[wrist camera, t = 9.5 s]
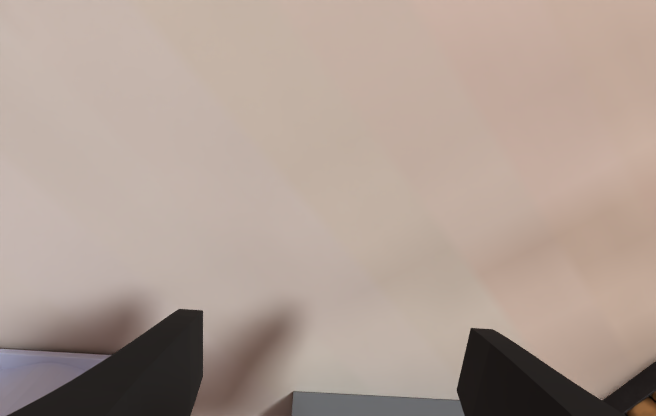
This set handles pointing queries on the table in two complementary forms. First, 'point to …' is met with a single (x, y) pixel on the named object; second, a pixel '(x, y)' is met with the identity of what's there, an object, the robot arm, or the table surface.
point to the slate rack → (370, 405)
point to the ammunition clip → (636, 395)
